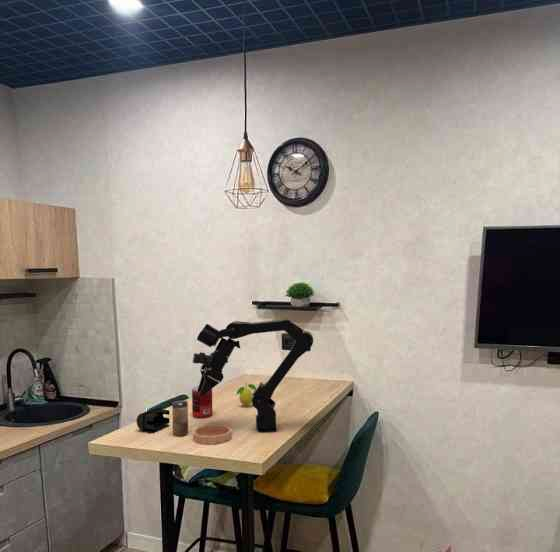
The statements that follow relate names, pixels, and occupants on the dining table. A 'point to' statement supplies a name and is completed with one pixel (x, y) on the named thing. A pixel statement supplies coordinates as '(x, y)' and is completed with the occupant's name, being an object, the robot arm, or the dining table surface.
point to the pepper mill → (180, 418)
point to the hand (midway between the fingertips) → (199, 393)
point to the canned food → (201, 404)
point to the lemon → (246, 394)
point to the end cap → (153, 420)
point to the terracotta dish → (212, 434)
